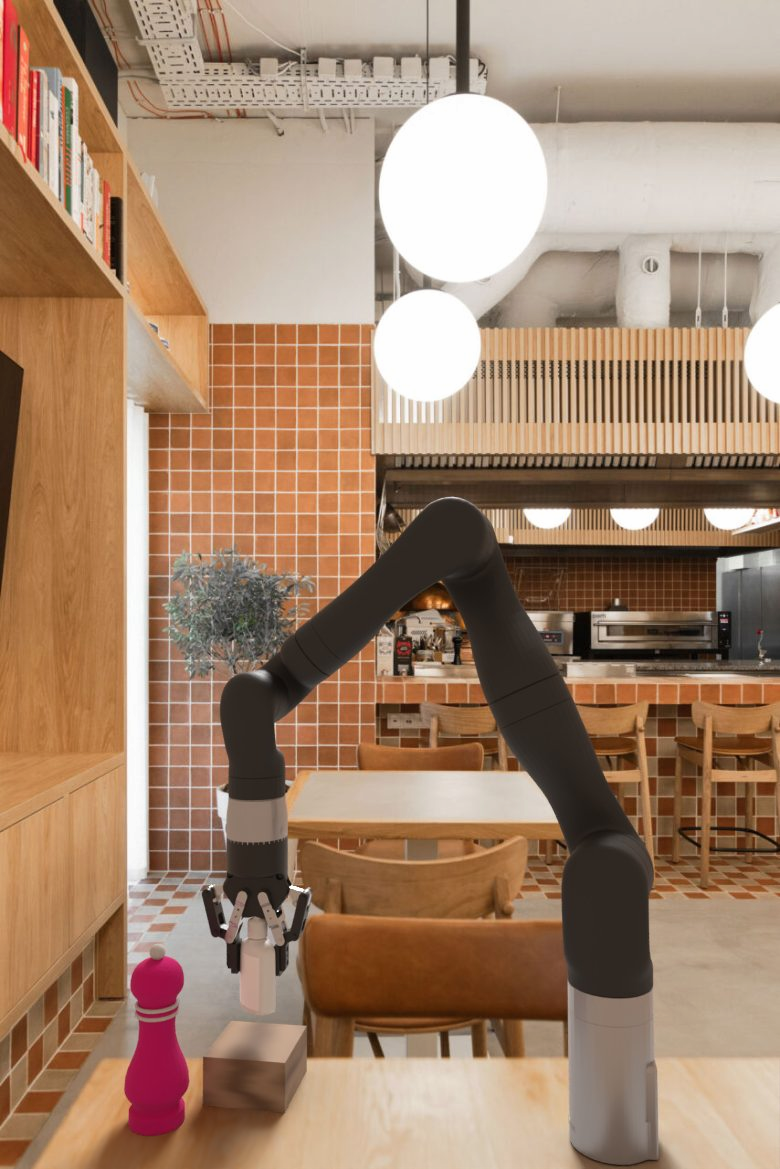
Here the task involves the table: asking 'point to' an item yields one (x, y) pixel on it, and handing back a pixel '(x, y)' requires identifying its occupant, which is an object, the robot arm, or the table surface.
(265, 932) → the eye dropper bottle
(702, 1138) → the table surface
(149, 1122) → the pepper mill
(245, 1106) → the walnut box
